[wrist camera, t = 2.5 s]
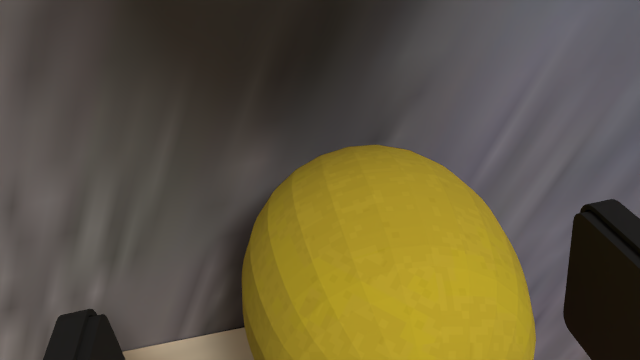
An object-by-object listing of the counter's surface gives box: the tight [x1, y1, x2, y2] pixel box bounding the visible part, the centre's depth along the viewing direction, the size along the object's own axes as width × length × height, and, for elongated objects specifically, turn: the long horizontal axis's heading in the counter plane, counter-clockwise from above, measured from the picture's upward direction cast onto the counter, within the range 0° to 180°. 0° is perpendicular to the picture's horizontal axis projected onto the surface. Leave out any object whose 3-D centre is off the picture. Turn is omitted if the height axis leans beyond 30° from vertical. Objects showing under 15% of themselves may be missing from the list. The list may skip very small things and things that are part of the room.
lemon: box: [242, 145, 536, 360], centre depth 12 cm, size 6×6×8 cm
